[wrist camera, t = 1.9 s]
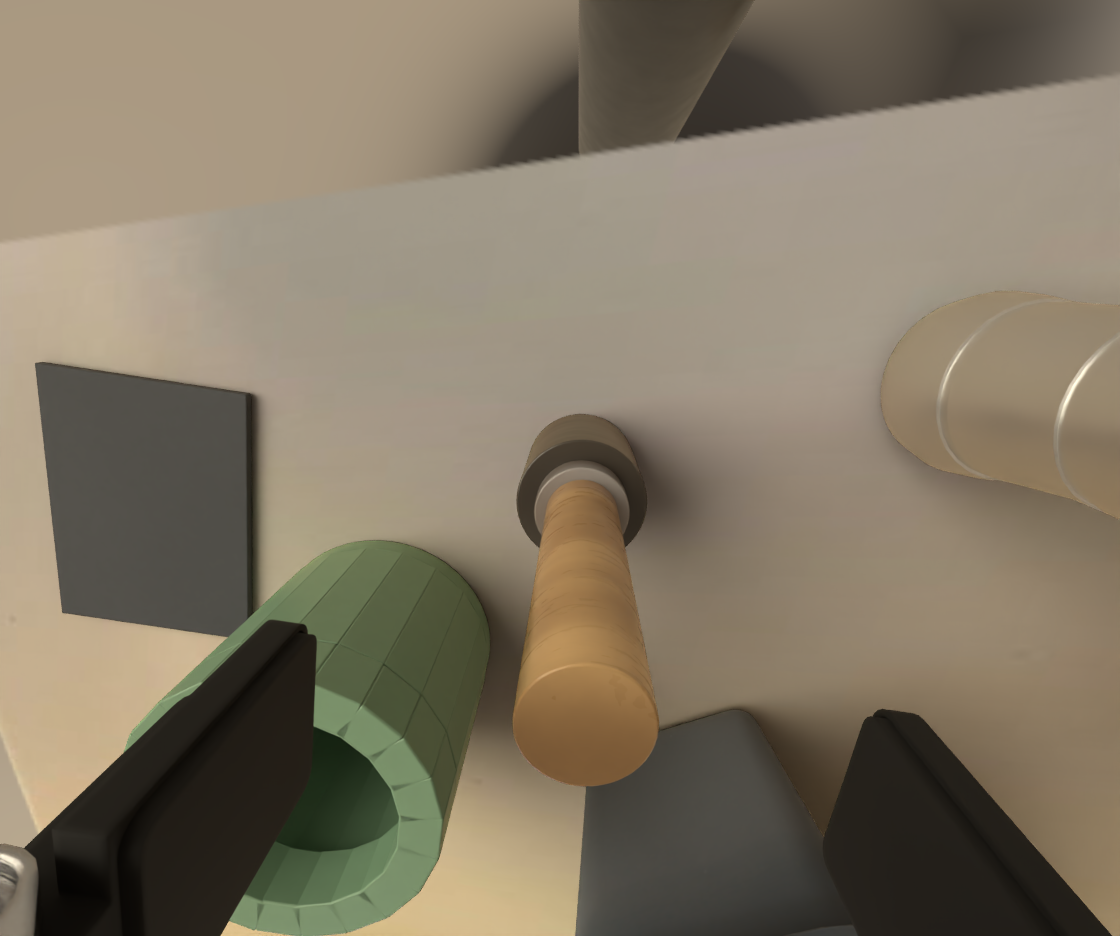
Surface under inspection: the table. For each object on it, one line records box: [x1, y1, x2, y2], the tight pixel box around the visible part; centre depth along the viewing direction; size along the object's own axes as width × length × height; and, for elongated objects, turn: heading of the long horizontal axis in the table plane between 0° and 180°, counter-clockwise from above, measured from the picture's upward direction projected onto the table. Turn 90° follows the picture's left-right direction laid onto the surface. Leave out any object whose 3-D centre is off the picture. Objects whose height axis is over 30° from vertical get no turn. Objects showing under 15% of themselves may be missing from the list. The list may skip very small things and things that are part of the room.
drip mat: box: [35, 362, 252, 637], centre depth 25 cm, size 12×9×1 cm
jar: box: [124, 540, 490, 936], centre depth 22 cm, size 10×10×10 cm
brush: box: [512, 414, 659, 786], centre depth 17 cm, size 5×5×16 cm
